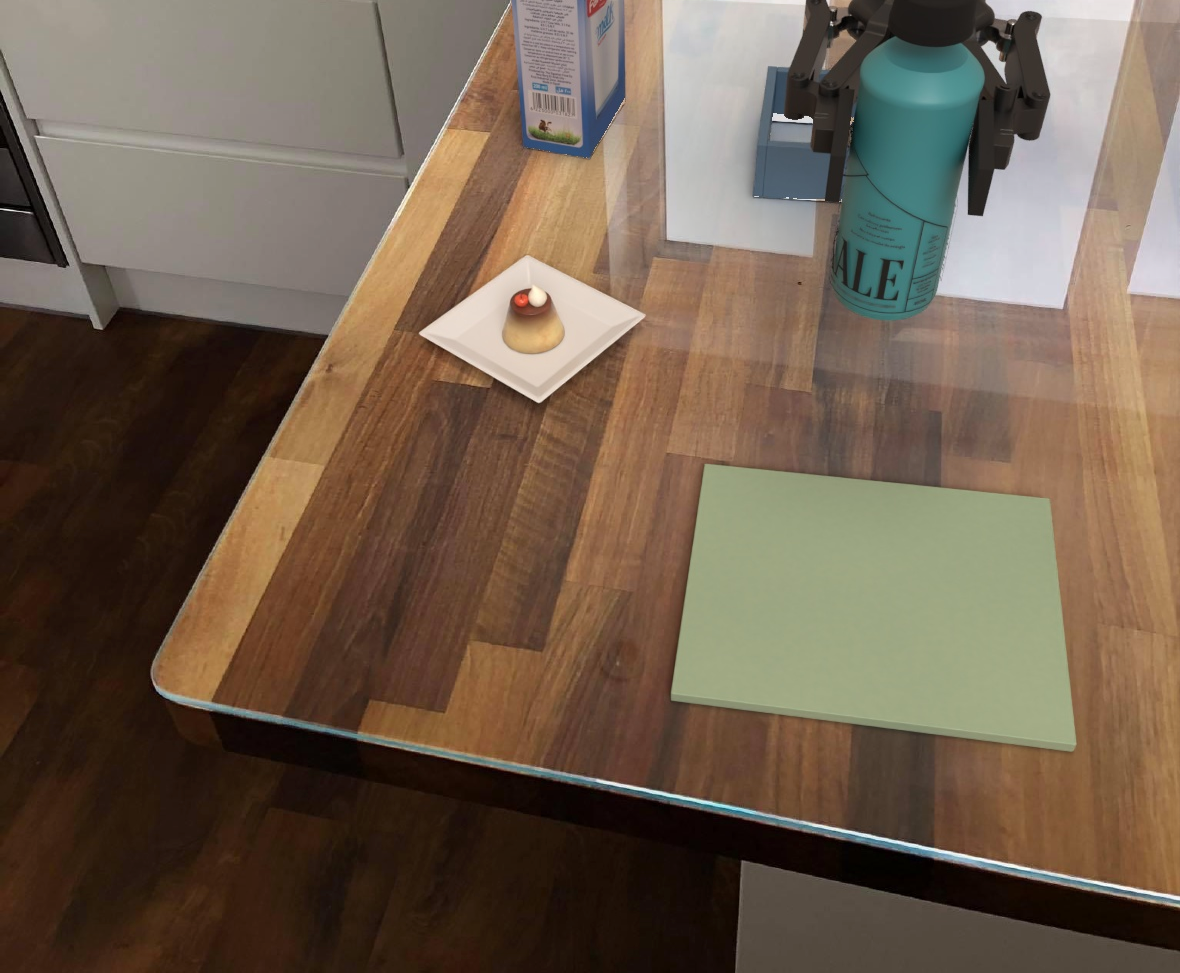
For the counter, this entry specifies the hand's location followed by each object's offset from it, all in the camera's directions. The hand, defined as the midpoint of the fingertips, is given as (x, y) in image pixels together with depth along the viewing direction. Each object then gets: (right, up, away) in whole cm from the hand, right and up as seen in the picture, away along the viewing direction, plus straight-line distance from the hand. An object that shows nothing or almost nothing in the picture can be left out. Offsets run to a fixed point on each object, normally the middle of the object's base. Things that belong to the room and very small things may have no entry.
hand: (907, 185), depth 61 cm
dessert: (-20, -4, +30) cm, 36 cm away
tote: (+5, +13, +44) cm, 46 cm away
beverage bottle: (+1, -5, +12) cm, 13 cm away
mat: (+1, -22, +12) cm, 25 cm away
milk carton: (-17, +17, +49) cm, 55 cm away
